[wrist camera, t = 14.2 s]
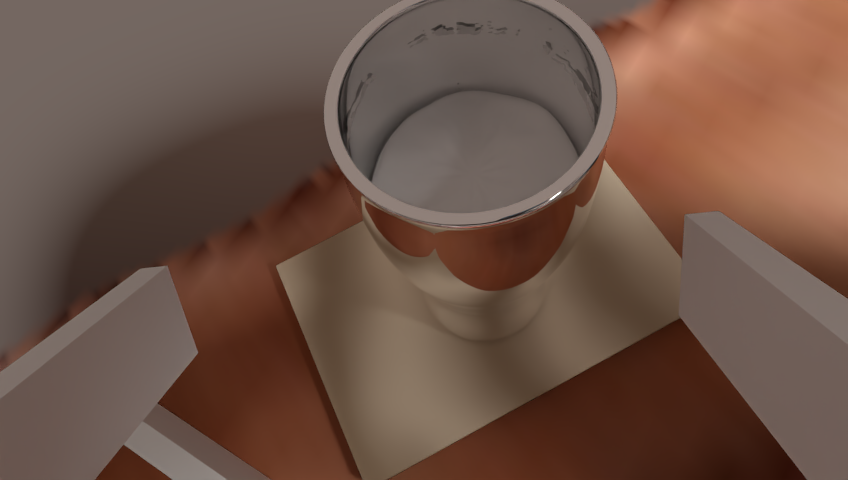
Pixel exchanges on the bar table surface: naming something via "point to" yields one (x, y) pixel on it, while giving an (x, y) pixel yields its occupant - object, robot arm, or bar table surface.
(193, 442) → the grey square frame
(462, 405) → the serving board
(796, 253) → the bar table surface
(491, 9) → the beer glass
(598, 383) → the bar table surface
